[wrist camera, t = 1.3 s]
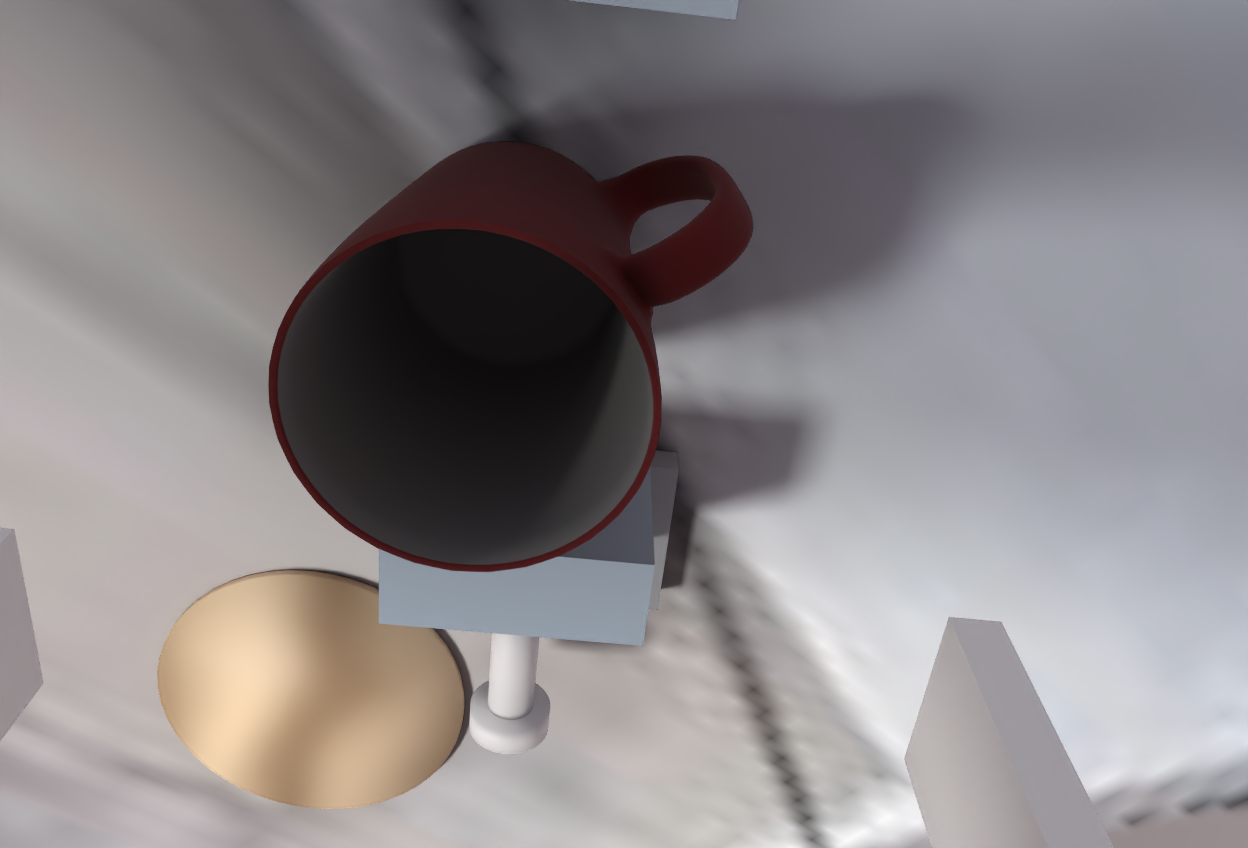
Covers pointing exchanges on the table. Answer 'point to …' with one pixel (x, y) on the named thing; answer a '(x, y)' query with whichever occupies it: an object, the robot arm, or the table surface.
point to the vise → (549, 576)
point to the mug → (493, 353)
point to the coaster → (309, 691)
